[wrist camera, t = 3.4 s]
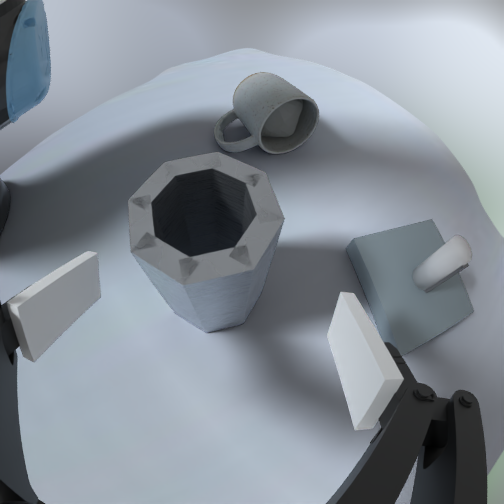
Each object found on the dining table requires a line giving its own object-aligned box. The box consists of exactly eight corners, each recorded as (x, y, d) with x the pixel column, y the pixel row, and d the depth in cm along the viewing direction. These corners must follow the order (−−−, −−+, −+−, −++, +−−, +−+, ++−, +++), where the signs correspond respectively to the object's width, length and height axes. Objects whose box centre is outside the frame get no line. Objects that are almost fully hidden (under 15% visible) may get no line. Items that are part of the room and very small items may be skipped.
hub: (165, 257, 24) (127, 170, 14) (244, 239, 25) (254, 146, 15) (180, 338, 21) (135, 296, 11) (268, 317, 22) (300, 258, 12)
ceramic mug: (277, 109, 34) (284, 62, 27) (312, 146, 31) (327, 94, 24) (203, 129, 32) (199, 77, 25) (232, 171, 29) (232, 113, 22)
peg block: (345, 248, 25) (382, 197, 18) (422, 228, 27) (462, 186, 20) (388, 359, 21) (448, 342, 14) (461, 317, 23) (514, 290, 16)
